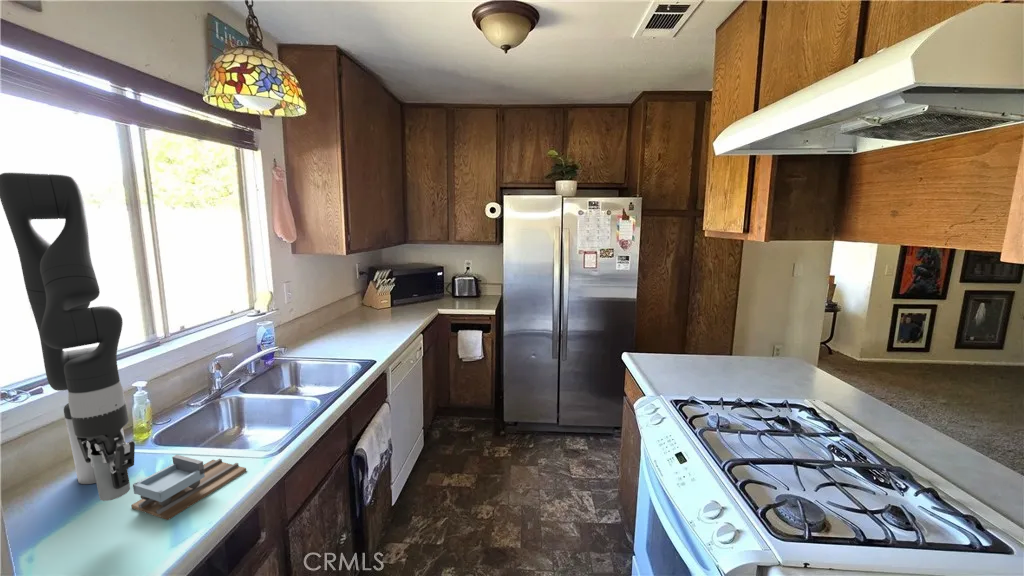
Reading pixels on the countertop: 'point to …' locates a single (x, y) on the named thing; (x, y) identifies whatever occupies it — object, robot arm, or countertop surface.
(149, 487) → the grey open box
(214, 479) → the rail board
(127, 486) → the grey cylindrical cup
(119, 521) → the countertop surface
